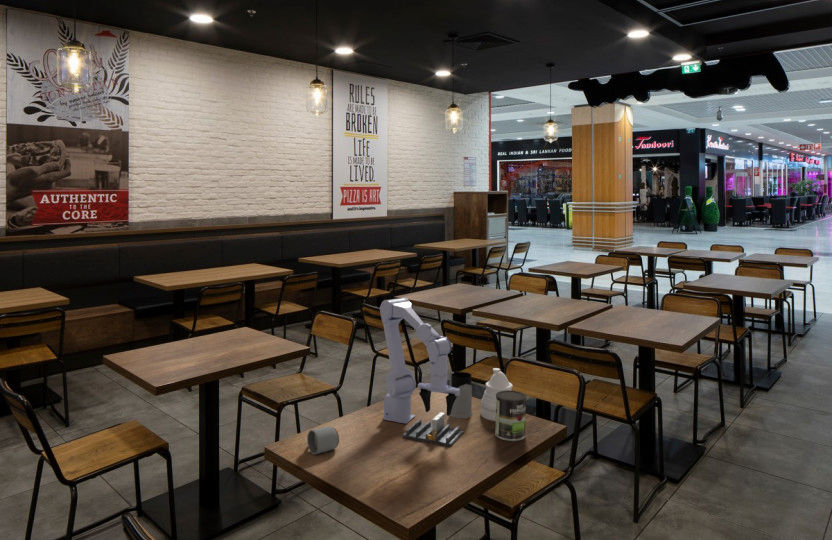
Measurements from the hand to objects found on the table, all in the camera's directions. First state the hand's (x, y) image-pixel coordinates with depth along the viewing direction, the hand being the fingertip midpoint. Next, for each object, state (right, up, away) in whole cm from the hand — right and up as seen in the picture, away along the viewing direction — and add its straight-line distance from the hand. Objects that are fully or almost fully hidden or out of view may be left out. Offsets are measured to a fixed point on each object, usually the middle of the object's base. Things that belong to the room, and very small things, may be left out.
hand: (438, 412), depth 194 cm
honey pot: (+23, -6, +20) cm, 32 cm away
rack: (-2, -8, +2) cm, 8 cm away
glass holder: (+8, -5, +24) cm, 26 cm away
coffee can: (+25, -8, +2) cm, 26 cm away
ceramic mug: (-38, -10, -9) cm, 40 cm away
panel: (0, -7, +1) cm, 7 cm away
